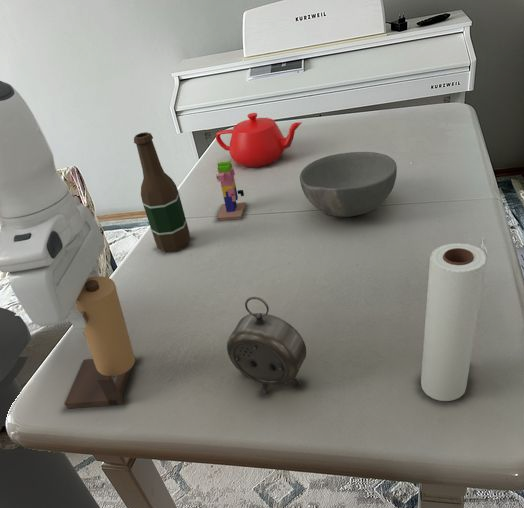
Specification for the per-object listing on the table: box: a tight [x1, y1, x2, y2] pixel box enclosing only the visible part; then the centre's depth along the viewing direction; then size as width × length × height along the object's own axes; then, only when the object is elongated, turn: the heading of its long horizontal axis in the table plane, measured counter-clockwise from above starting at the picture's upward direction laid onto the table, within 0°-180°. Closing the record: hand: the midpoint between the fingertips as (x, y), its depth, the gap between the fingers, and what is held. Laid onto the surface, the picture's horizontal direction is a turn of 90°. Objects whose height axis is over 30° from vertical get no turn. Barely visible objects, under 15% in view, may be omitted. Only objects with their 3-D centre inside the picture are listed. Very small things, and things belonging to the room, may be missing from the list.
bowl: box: [299, 151, 398, 218], centre depth 111 cm, size 20×20×10 cm
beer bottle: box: [133, 131, 191, 253], centre depth 107 cm, size 8×8×24 cm
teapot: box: [215, 112, 303, 168], centre depth 140 cm, size 25×16×12 cm, turn 73°
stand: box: [64, 354, 137, 410], centre depth 82 cm, size 9×10×6 cm
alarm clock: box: [226, 296, 307, 395], centre depth 73 cm, size 11×5×16 cm, turn 66°
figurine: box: [215, 160, 247, 221], centre depth 119 cm, size 7×6×12 cm
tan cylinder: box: [76, 275, 136, 382], centre depth 76 cm, size 16×8×6 cm
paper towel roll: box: [420, 237, 488, 402], centre depth 65 cm, size 7×6×21 cm
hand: (89, 309), depth 74 cm, fingers closed on tan cylinder, 6 cm apart
